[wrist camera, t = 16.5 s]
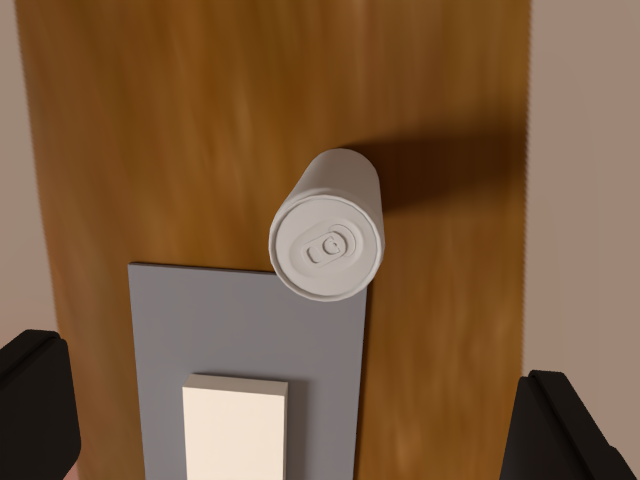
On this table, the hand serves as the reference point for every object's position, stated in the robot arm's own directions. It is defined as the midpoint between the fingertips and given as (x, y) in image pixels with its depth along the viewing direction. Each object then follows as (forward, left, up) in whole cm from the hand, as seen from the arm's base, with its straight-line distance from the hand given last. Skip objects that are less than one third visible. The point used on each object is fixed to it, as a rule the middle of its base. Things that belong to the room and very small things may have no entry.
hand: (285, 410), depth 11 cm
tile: (+14, -6, -21) cm, 26 cm away
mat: (+16, -6, -22) cm, 28 cm away
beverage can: (0, 0, -23) cm, 23 cm away
